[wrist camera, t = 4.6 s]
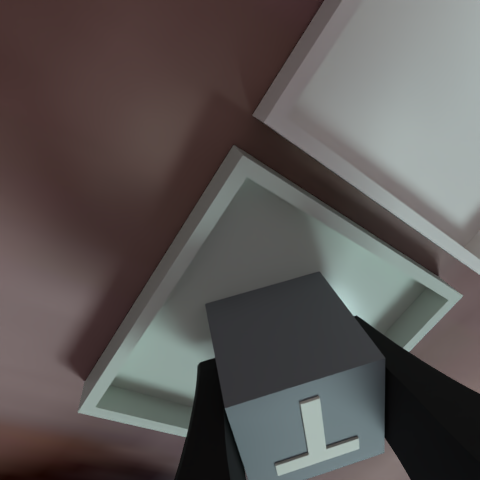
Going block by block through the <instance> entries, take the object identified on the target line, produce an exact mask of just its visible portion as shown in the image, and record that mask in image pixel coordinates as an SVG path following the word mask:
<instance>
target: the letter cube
mask: <svg viewBox="0 0 480 480" xmlns="http://www.w3.org/2000/svg"><path fill="white" fill-rule="evenodd" d="M205 307H206V313H207V318H208V323H209V328H210V333H211V339H212V344H213V349H214V354H215V360H216V365H217V370H218V375H219V381H220V386H221V391H222V396H223V401H224V407H225V410H226V413H227V417H228V420H229V423H230V426H231V429H232V432H233V435H234V438H235V441H236V444H237V447H238V450H239V453H240V456H241V459H242V462H243V465H244V468H245V471H246V474H247V477H248V480H305V479H308V478H311V477H314V476H317V475H320V474H323V473H326V472H329V471H332V470H335V469H338V468H341V467H344V466H347V465H350V464H353V463H356V462H359V461H362V460H364V459H367V458H370V457H373V456H376V455H379V454H382V453H384V431H385V357H384V356H383V354H382V353H381V352H380V350H379V349H378V348H377V346H376V345H375V344H374V342H373V341H372V340H371V339H370V337H369V336H368V335H367V333H366V332H365V331H364V329H363V328H362V327H361V325H360V324H359V323H358V321H357V320H356V319H355V317H354V316H353V315H352V313H351V312H350V311H349V309H348V308H347V307H346V305H345V304H344V303H343V302H342V300H341V299H340V298H339V296H338V295H337V294H336V292H335V291H334V290H333V288H332V287H331V286H330V284H329V283H328V282H327V280H326V279H325V278H324V276H323V275H322V274H321V272H320V271H319V272H315V273H312V274H308V275H305V276H301V277H298V278H294V279H291V280H287V281H284V282H280V283H277V284H273V285H270V286H266V287H262V288H259V289H255V290H252V291H248V292H245V293H241V294H238V295H234V296H231V297H227V298H224V299H220V300H217V301H213V302H210V303H206V304H205Z"/></svg>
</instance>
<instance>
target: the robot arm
mask: <svg viewBox="0 0 480 480" xmlns="http://www.w3.org/2000/svg"><path fill="white" fill-rule="evenodd" d="M354 317H355V319H356V320H357V321H358V323H359V324H360V325H361V327H362V328H363V329H364V331H365V332H366V333H367V335H368V336H369V337H370V339H371V340H372V341H373V342H374V344H375V345H376V346H377V348H378V349H379V350H380V352H381V353H382V354H383V356H384V357H385V431H384V437H385V438H386V440H387V442H388V443H389V445H390V446H391V448H392V449H393V451H394V452H395V454H396V455H397V457H398V459H399V460H400V462H401V464H402V465H403V467H404V469H405V470H406V472H407V474H408V476H409V477H410V479H411V480H480V394H479V393H477V392H475V391H473V390H471V389H469V388H468V387H466V386H464V385H462V384H460V383H458V382H457V381H455V380H453V379H451V378H450V377H448V376H446V375H445V374H443V373H441V372H440V371H438V370H436V369H435V368H433V367H431V366H430V365H428V364H427V363H425V362H423V361H422V360H420V359H419V358H417V357H416V356H414V355H413V354H411V353H410V352H408V351H407V350H405V349H403V348H402V347H401V346H399V345H398V344H396V343H395V342H393V341H392V340H390V339H389V338H388V337H386V336H385V335H383V334H382V333H381V332H379V331H378V330H376V329H375V328H374V327H372V326H371V325H370V324H368V323H367V322H365V321H364V320H363V319H361V318H360V317H358V316H357V315H356V316H354ZM174 480H246V477H245V470H244V465H243V462H242V459H241V456H240V453H239V450H238V447H237V444H236V441H235V438H234V435H233V432H232V429H231V426H230V423H229V420H228V417H227V413H226V410H225V407H224V401H223V396H222V391H221V386H220V381H219V375H218V370H217V365H216V360H215V358H212V359H209V360H206V361H202V362H200V363H199V364H198V366H197V381H196V389H195V396H194V402H193V408H192V413H191V417H190V422H189V427H188V432H187V436H186V440H185V444H184V447H183V451H182V455H181V459H180V463H179V466H178V469H177V473H176V476H175V479H174Z"/></svg>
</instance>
